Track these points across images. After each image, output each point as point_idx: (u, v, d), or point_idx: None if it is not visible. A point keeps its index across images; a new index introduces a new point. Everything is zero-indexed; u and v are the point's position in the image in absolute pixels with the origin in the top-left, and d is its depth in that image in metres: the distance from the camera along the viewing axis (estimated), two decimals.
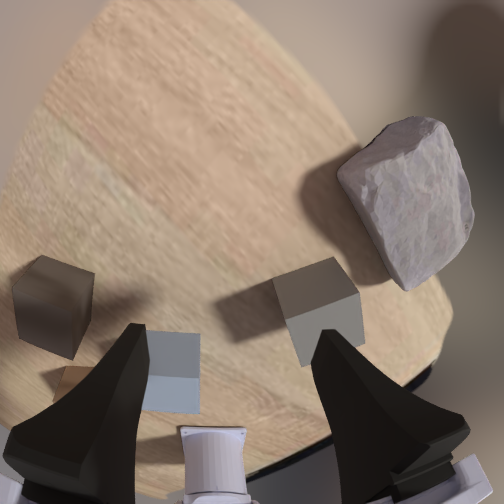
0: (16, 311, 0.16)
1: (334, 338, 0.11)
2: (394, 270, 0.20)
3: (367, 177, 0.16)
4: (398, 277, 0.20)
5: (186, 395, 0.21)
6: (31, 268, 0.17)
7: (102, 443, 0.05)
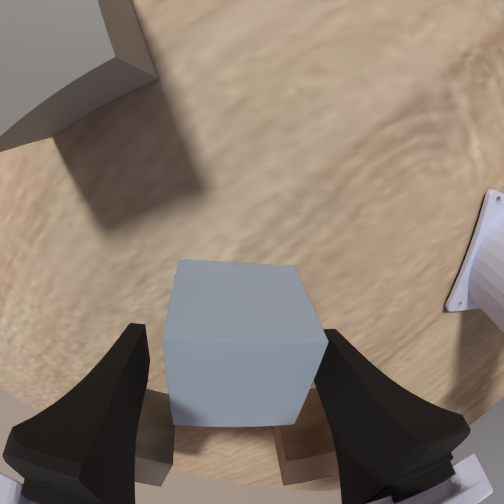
0: None
1: (334, 338, 0.11)
2: None
3: None
4: None
5: (239, 364, 0.09)
6: None
7: (102, 443, 0.05)
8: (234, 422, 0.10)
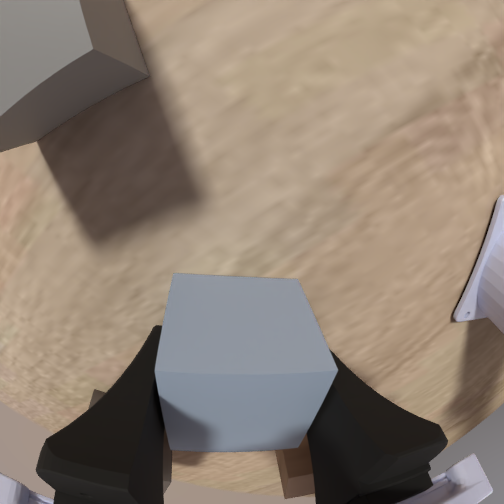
0: None
1: None
2: None
3: None
4: None
5: (239, 395, 0.08)
6: None
7: (143, 450, 0.05)
8: (234, 447, 0.09)
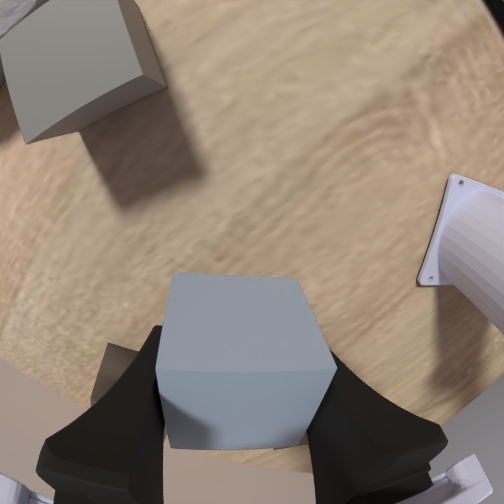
0: None
1: None
2: None
3: None
4: None
5: (239, 393, 0.08)
6: None
7: (142, 450, 0.05)
8: (234, 445, 0.09)
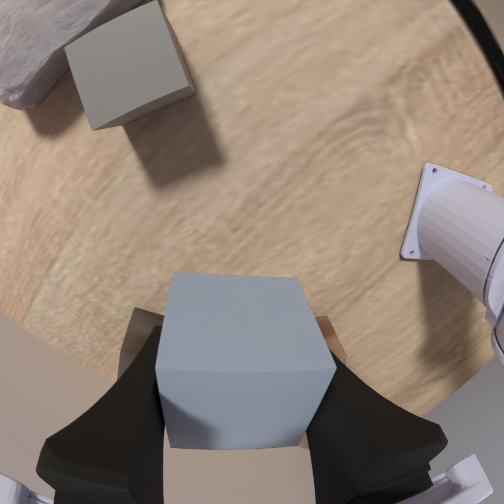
0: None
1: None
2: (104, 10, 0.10)
3: (3, 100, 0.11)
4: (111, 2, 0.10)
5: (239, 393, 0.08)
6: None
7: (142, 450, 0.05)
8: (234, 445, 0.09)
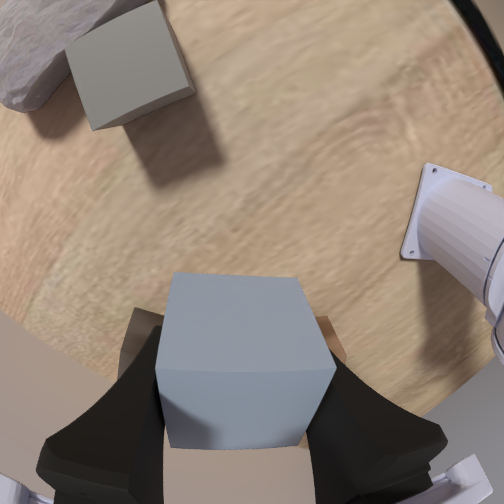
0: None
1: None
2: (107, 13, 0.10)
3: (6, 103, 0.11)
4: (114, 4, 0.10)
5: (239, 393, 0.08)
6: None
7: (142, 450, 0.05)
8: (234, 445, 0.09)
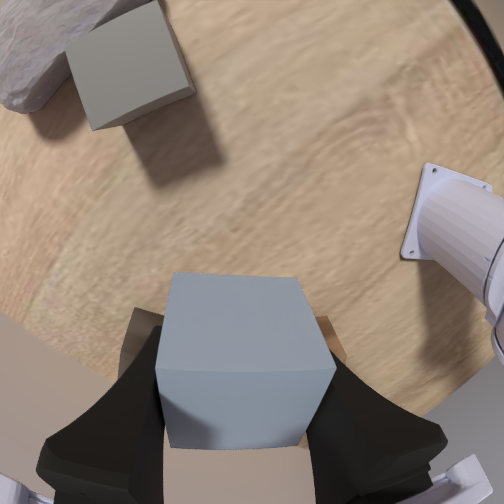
0: None
1: None
2: (108, 14, 0.11)
3: (6, 104, 0.11)
4: (116, 5, 0.10)
5: (239, 393, 0.08)
6: None
7: (142, 450, 0.05)
8: (234, 445, 0.09)
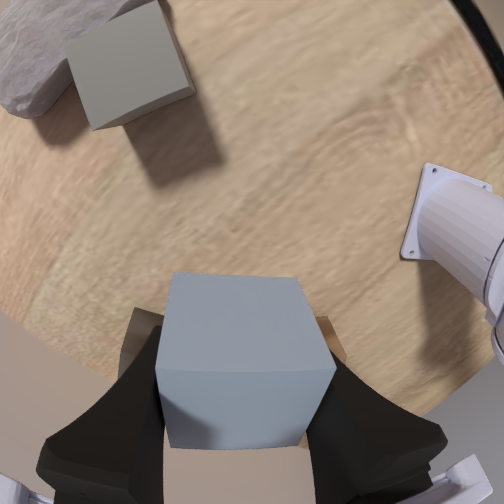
0: None
1: None
2: None
3: (10, 109, 0.11)
4: (120, 10, 0.10)
5: (239, 393, 0.08)
6: None
7: (142, 450, 0.05)
8: (234, 445, 0.09)
